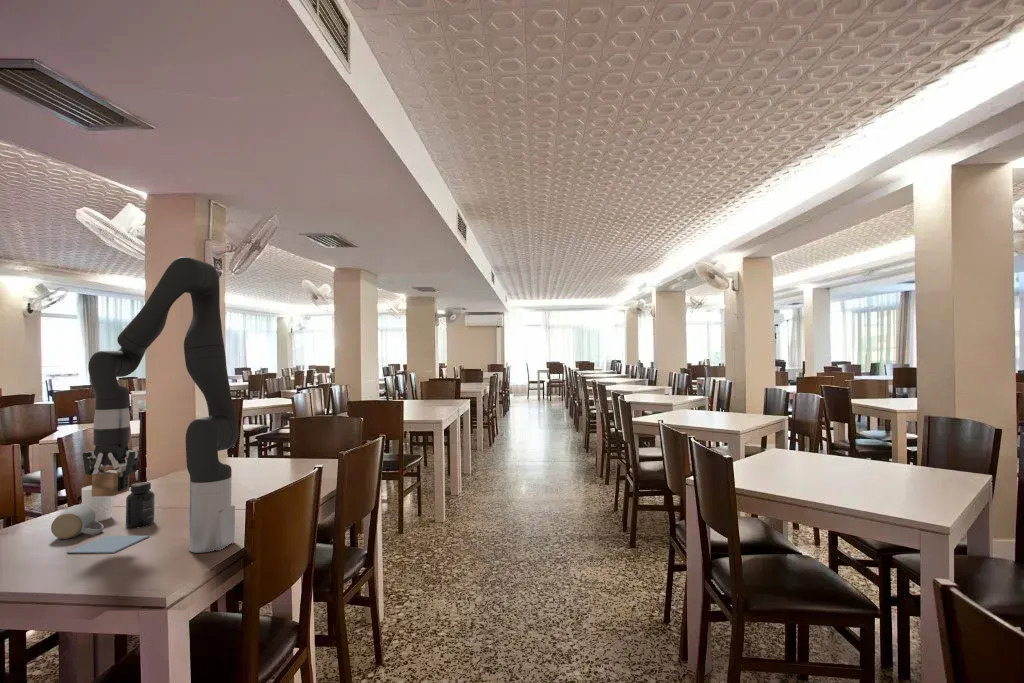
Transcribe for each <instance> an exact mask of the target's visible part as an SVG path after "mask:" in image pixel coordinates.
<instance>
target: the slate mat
mask: <svg viewBox="0 0 1024 683" xmlns="http://www.w3.org/2000/svg"><path fill="white" fill-rule="evenodd" d="M148 538H150V535H106V536H102V537H100V538H98V539H96V540H94V541H90V542H88V543H85V544H83V545H81V546H79V547H76V548H73V549H71V550H69V551H67V552H66V554H67V553H99V554H116V553H117V552H121V551H122V550H124V549H126V548H128V547H131V546H133V545H135V544H137V543H139V542H142V541H144V540H146V539H148Z"/></svg>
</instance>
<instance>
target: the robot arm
mask: <svg viewBox="0 0 1024 683" xmlns="http://www.w3.org/2000/svg"><path fill="white" fill-rule="evenodd" d="M162 274H163V275H162V276H161V278H160V279H159V281H158V283H156V284H157V285H156V286H155V287H154V289H153V290H152V292H151V294H150V295H149V297H148V298H147V300H146V301H145V304H144V305H143V306H142V308H140V310H139V312H138V313H137V314H136V315H135V317H133V319H132V320H131V321H130V322H129V323H128V324H127V326H125V327H124V328H123V329H122V331H120V334H118V336H117V341H116V342H117V344H118V345H119V346H120V348H119V349H118V350H107V349H106V350H99V351H97V352H94V353H93V354H92V355H91V357H90V358H89V361H88V367H87V368H88V374H89V376H90V377H89V378H90V380H91V383H92V384H91V385H92V388H93V390H94V393H95V407H94V408H95V409H94V410H95V411H94V416H93V442H92V444H93V445H94V446H95V447H94V449H93V450H91V451H90V450H89V451H86V452H82V460H83V466H84V473H85V475H86V476H91V477H92V475H93V474H97V473H101V472H105V471H107V468H109V467H110V466H112V468H113V470H116V471H117V473H118V476H119V477H118V491H124V490H126V489H127V488H128V476H129V477H130V475H132V474H134V473H136V472H137V470H138V466H139V461H140V455H141V450H139V449H136V450H133V449H132V450H131V449H130V448H129V442H130V440H131V439H130V435H131V434H130V432H131V430H130V429H131V428H130V427H131V414H130V413H131V412H130V391H129V389H128V388H127V387H126V386H123V385H120V384H119V382H118V378H124V377H127V376H130V375H131V374H132V373H134V372H135V371H136V370H137V369H138V367H139V366H140V364H141V362H142V360H143V357H144V355H145V354H146V350H148V349H149V348H150V346H151V345H152V344H153V342H155V341H156V339H157V338H159V336H160V335H161V333H162V332H163V331H164V328H165V326H166V324H167V319H168V315H169V312H170V310H171V307H172V306H173V305H174V303H175V302H176V301H177V300H178V299H179V298H180V297H181V296H182V295H184V294H185V293H186V294H189V295H190V298H191V305H192V317H191V318H192V319H191V321H190V324H189V326H188V329H187V331H186V334H185V336H184V341H183V354H184V361H185V367H186V370H187V373H188V375H189V376H190V378H191V379H192V381H193V382H194V383H195V385H196V386H197V387H198V389H199V390H200V392H201V393H202V394H203V397H204V399H205V402H206V404H207V405H206V406H207V412H208V416H204V417H199V418H195V419H193V420H191V422H190V423H189V425H188V426H187V428H186V432H185V456H186V457H185V459H186V462H185V464H186V469H187V472H188V474H189V528H188V529H189V530H188V531H189V536H188V537H189V540H188V542H189V543H188V548H189V550H188V551H189V552H191V553H195V554H196V553H198V554H201V553H202V554H203V553H210V551H211V552H215V551H214V550H216V551H222V550H224V549H226V548H227V547H229V546H230V545H229V544H231V543H232V544H234V543H235V542H236V541H235V540H236V539H235V537H236V536H235V535H236V534H235V533H236V531H235V530H236V529H235V528H236V527H235V526H236V522H235V521H236V519H235V518H236V516H235V515H236V506H235V505H233V504H232V466H230V465H229V464H226V463H223V462H221V461H220V460H219V452H221V451H224V450H229V449H231V448H232V447H234V446H235V445H236V444H237V442H238V438H239V434H240V432H239V431H240V430H239V428H240V427H239V424H238V419H237V418H238V417H237V414H236V410H235V406H234V403H233V402H234V401H233V399H232V398H233V397H232V394H231V388H230V382H229V375H228V367H227V356H226V349H225V342H224V337H223V336H224V335H223V328H222V320H221V319H222V317H221V308H220V305H221V304H220V301H221V299H220V297H221V296H220V292H221V291H220V277H219V276H220V275H219V272H218V271H217V269H216V267H214V266H213V265H212V264H210V263H208V262H205V261H202V260H200V259H196V258H194V257H189V256H180V257H178V258H176V259H174V260H173V261H172V262H171V263H170V264H169V265H168V267H167V268H166V269H165V271H164V273H162ZM234 541H235V542H234ZM233 542H234V543H233ZM232 544H231V545H232ZM228 545H229V546H228ZM226 546H227V547H226ZM225 547H226V548H225ZM223 548H224V549H223ZM221 549H222V550H221Z"/></svg>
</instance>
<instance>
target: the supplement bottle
mask: <svg viewBox="0 0 1024 683" xmlns="http://www.w3.org/2000/svg"><path fill="white" fill-rule="evenodd" d="M151 486H152V484H151V482H150V481H143V482H135V483H132V484H130V489H129V492H130V493H129V494H128V495H127V496H126V498H125V527H126V528H127V529H137V527H140V528H143V526H145V527H147V526H146V525H148V526H150V525H149V524H151V525H153V524H154V522H155V508H156V506H155V503H156V502H155V499H156V498H155V497H156V496H155V492H153V491H152V490H151V489H152V487H151ZM152 523H153V524H152Z"/></svg>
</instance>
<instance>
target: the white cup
mask: <svg viewBox="0 0 1024 683" xmlns="http://www.w3.org/2000/svg"><path fill="white" fill-rule="evenodd" d="M114 497H115V496H92V484H91V485H87V486H83V487H82V488H81V505H86V506H89V507H90V508H92V509H93V511H94V512H95V521H98V522H102V521H106V520H109V519H111V518H112V516H113V515H112V514H113V507H114V505H113V504H114Z"/></svg>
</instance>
